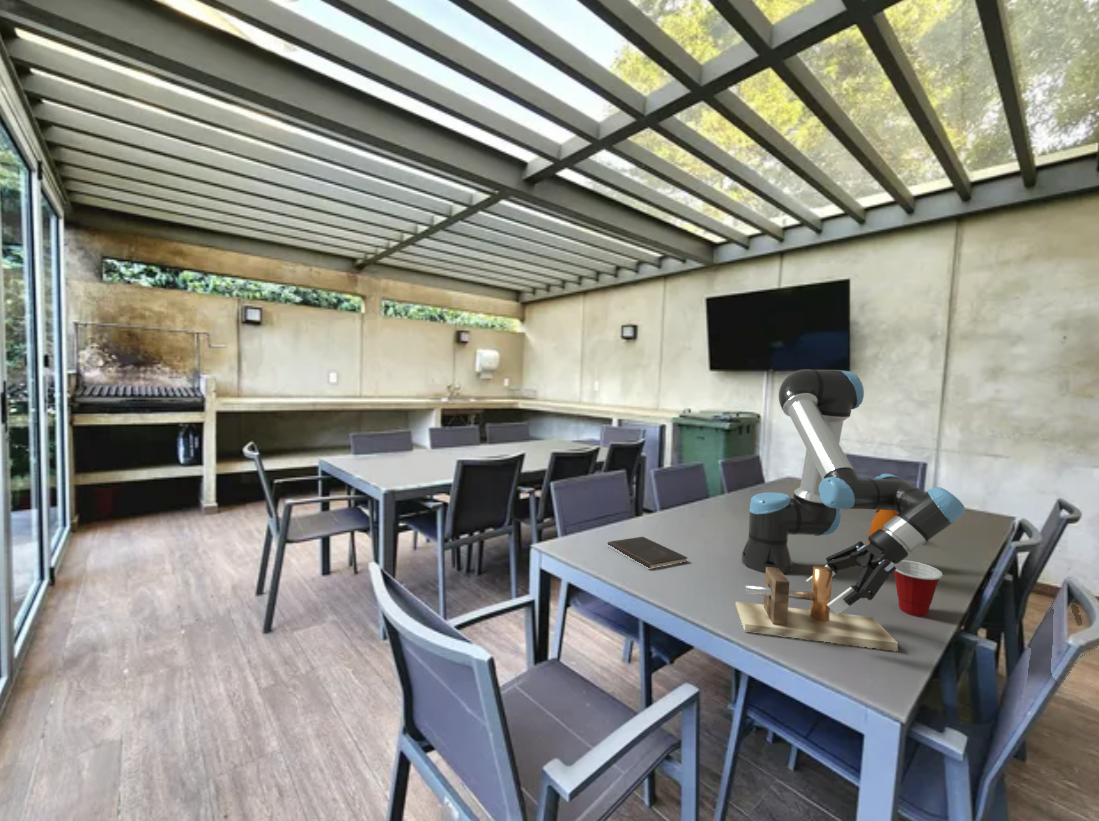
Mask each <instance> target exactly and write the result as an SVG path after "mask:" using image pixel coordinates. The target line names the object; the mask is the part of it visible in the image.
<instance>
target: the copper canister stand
mask: <svg viewBox="0 0 1099 821" xmlns="http://www.w3.org/2000/svg"><path fill="white" fill-rule="evenodd" d="M764 587H771V588H772V590H771V596H766V595H763V604H761V603H753V602H744V601H735V606H734V607H735V608H736V610H737V612H736V614H737V613H738V615H739V617H738V619H739V618H740V619H739V621H740V620H741V622H740V624H741V623H742V624H741V626H742V625H743V627H742V629H743V628H744V629H743V631H744V630H745V631H748V632H749V631H750V632H757V633H765V634H773V635H774V634H775V635H782V636H789V637H794V638H802V639H808V640H807V641H810V640H816V641H815V642H817V641H824V642H823V643H825V642H831V643H830V644H833V643H838V644H837V645H841V644H845V645H844V646H849V645H852V646H851V647H857V646H859V648H864V647H867V648H866V649H872V648H876V649H875V650H880V649H883V650H882V651H888V650H893V651H892V652H896V651H897V652H898V650H899V649H898V647H899V642H897V640H896V639H895V638H893V636H892V635H891V634H890V633H889V632H888V631H887V630H886V629H885V628H884V627H883V626H882V625H881V624H879V622H877V620H876V619H875V618H874V617H873V616H865V615H857V614H850V613H849V614H848V613H839V614H838V615H836V614H835V613H834V612H833V611H832V612H831V611H830V616H829V621H827V622H822V621H818V620H815V619H813V618H812V617H811V616H810V610H811V609H805V608H796V607H790V606H789V599H790V598H789V589H790V581H789V580H788V578H787V577H786V575H785V573H782V572H781V570H780V569H779V568H774V567H766V572H765V579H764ZM736 610H735V611H736ZM738 615H737V616H738ZM794 638H793V639H794ZM802 639H801V640H802Z"/></svg>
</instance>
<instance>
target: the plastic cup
mask: <svg viewBox="0 0 1099 821" xmlns="http://www.w3.org/2000/svg"><path fill="white" fill-rule="evenodd" d="M892 564H893V565H894V566H895V567H896V570H895V571H894V572H893V574H894V578H895V585H896V593H897V594H896V595H897V598H898V599H897V600H898V607H899V609H901V612H903V613H905V614H908V615H910V616H914V617H919V616H921V618H922V616H925V617H927V616H928V614H929V610H930V606H931V604H932V603H933V599H934V595H935V592H936V589H937V586H938V585H939V584H938V583H939V582H940V579H941V578H942V577H943V576H944V575H943V572H942V571H941V570H939V569H938V568H936V567H933V566H931V565H929V564H925V563H922V562H918V561H912V560H904V559H903V560H902V561H900V562H899V563H897V564H894V563H892Z"/></svg>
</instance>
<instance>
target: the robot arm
mask: <svg viewBox="0 0 1099 821" xmlns="http://www.w3.org/2000/svg"><path fill="white" fill-rule="evenodd" d="M864 397H865V390H864V385H863V382H862V381H861V379H860V378H859V376H858V375H857V374H856V373H854V372H852V371H849V370H848V371H847V370H839V369H809V368H807V369H805V368H804V369H799V370H795V371H793V372H792V373H790V374H789V375H787V376H786V378H784V380H783V381H782V383H781V385H780V387H779V390H778V401H779V406H780V407H781V410H782V412H783V413H784V415H786V416H787V417H790V419H791V420H792V423H793V425H794V427H795V429H796V430H797V433H798V435H799V437H800V438H801V440H802V443H803V444H804V446H805V448H806V449H805V456H804V463H803V467H802V475H801V480H800V486H799V487H798V488H796V489H794V490H793V497H792V498H791V497H790V496H789V495H788V494H786V493H783V492H771V491H769V492H762V493H757V494H754V495H753V496H752V497H751V499H750V504H749V508H748V509H749V520H748V538H747V541H746V543H745V546H744V548H743V550H742V553H741V559H740V560H742V561H741V563H742V562H743V563H742V564H743V565H744V564H745V565H744V566H745V567H748V568H750V569H752V570H754V571H758V570H759V572H762V571H763V573H766V567H774V568H779V569H780V570H781V572H782V573H783V574H787V573H790V572H792V570H793V561H792V557H791V553H790V550H789V546H788V539H789V538H788V537H789V535H794V536H799V535H800V536H814V537H819V536H829V535H831V534H833V533H835V532H836V531H837V529H838V527H839V526H840V523H841V516H842V514H841V511H840V510H875V511H876V510H893V511H896V512H897V513H899V514H898V515H896V516H895V517H894V518H892V519H891V520H890V521H888V522H887V523H886V524H884V525H883V526H882V527H883V530H882V529H878V530H877V531H876V532H874V533H873V534H872V535H870V536H869V535H868V538H867V539H868V542H869V541H870V544H869V543H868V544H867V545H866V544H865V543H864V542H863V541H861V540H860V541H858V542H856V543H855V544H853V545H851V546H849V547H848V548H847V547H846V548H845V549H842V550H841V551H838V552H836V553H834V554H832V555H830V556H827V557H826V558H825V560H826V565H825V567H828V568H830V569H832V570H833V571H832V577H834V576H835V575H837V574H838V572H839V571H842V570H846V569H849V568H853V567H860V568H861V567H862V570H861V571H860V574H859V576H858V578H857V581H856V583H855V584H854V585H853V584H852V585H850V587H848V588H847V589H846V590H844V591H843V592H841V593H840V594H839V595H838V596H836V597H835V598H834V599H832V600H831V601H830V603H828V604H827V605H828V606H829V608H830V611H832V613H835V614H836V615H838V614H839V613H840V614H842V612H843V611H845V610H846V609H848V608H850V607H851V606H852V605H854V604H856V602H857V601H859V600H860V599H866V600H868V601H872V600H873V599H874V597H875V596H876V595H877V593H878V592H879V590H880V589H881V588H882V587H883V585H884V583H885V582H886V581H887V580H888V578H889V576H890V575H892V574H894V571H895V570H896V567H895V566H894V565H893V564H892V563H894V564H897V563H899V562H900V561H902V560H904V559H906V558H908V557H909V553H913V552H914V551H916V550H917V549H919V548H922V545H924V544H926V542H929V541H930V540H931V539H932V538H934V537H935V536H936V535H937V534H939V533H940V532H941V531H943V530H944V529H946V528H947V527H949V526H951V525H953V524H954V523H955V522H956V521H957V520H958V519H959V518H960V517H961V516H962V515H964V513H965V512H966V507H965V505H964V504H963V503H962V501H961V500H960V499H958V498H957V496H955V495H954V494H952V493H951V492H950V491H948V490H947V489H945V488H943V487H939V486H934V487H932V488H931V489H928V490H927V491H925V490H923V489H920V488H919V487H917V486H915V485H914V484H912V483H910V482H908V481H907V480H905V479H903V478H901V477H899V476H897V475H894V474H892V473H882V474H880V475H876V476H875V477H874V478H862V477H859V475H858V474H857V473H856V471H855V469H854V467H853V466H852V464H851V462H850V461H849V459H848V457H847V455H846V454H845V452H844V450H843V449H842V446H841V445H840V442H841V436H842V431H843V424H844V422H845V420H847V419H849V418H850V417H851V414H852V410H855V409H857V408H859V407H860V405H862V404H863V401H864ZM890 561H891V562H892V563H891V562H890ZM812 578H813V574H812V575H811V576H810V577H808V578H807V579H806V580H805V581H806V582H807V583H808V584H809V586H810V587H812Z"/></svg>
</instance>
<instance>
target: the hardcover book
mask: <svg viewBox="0 0 1099 821" xmlns="http://www.w3.org/2000/svg"><path fill="white" fill-rule="evenodd" d="M607 544H608V545H610V546H612V547H614V548H615V549H617V550H619V551H620V552H622V553H623V554H625V555H627V556H629V557H630V558H632V559H634V560H635V561H637V562H639V563H641V564H643V565H644V566H646V567H648V568H652V567H657V566H663V565H668V564H674V563H680V562H684V561H686V562H687V559H688V557H687V556H685V555H683V554H681V553H678V552H677V551H675V550H673V549H670V548H669V547H666V546H663V545H661V544H660V543H657V542H656V541H653V540H651V539H649V538H647V537H645V536H638V537H632V538H626V539H618V540H612V541H608V542H607ZM607 544H606V545H607Z"/></svg>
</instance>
